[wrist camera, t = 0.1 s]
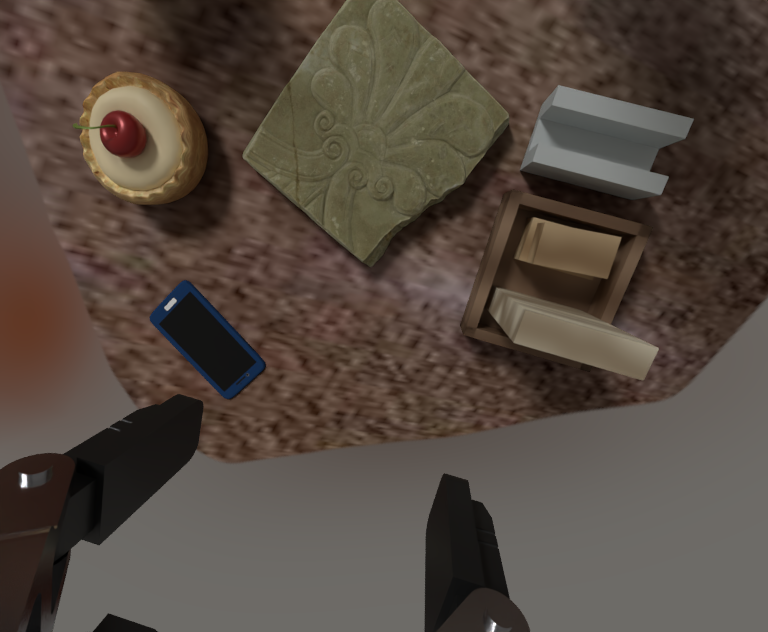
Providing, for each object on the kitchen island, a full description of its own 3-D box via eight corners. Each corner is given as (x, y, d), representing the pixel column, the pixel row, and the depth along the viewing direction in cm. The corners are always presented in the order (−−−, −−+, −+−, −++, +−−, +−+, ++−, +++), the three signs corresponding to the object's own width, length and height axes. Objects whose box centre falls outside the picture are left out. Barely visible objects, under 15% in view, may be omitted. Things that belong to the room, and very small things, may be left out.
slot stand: (542, 104, 34) (558, 85, 30) (659, 134, 34) (693, 118, 29) (519, 170, 36) (532, 161, 31) (632, 200, 35) (660, 195, 31)
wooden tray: (503, 194, 36) (512, 189, 32) (628, 228, 36) (653, 227, 32) (460, 325, 40) (463, 335, 36) (573, 358, 39) (589, 372, 35)
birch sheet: (493, 285, 37) (525, 310, 25) (580, 309, 37) (658, 348, 24) (485, 307, 38) (513, 342, 25) (571, 331, 37) (643, 380, 25)
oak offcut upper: (537, 223, 33) (545, 222, 31) (608, 237, 33) (621, 237, 31) (526, 262, 34) (533, 263, 32) (595, 276, 34) (607, 279, 32)
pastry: (224, 206, 41) (171, 202, 32) (125, 206, 42) (49, 201, 33) (213, 85, 38) (152, 45, 29) (107, 88, 39) (17, 49, 30)
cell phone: (188, 277, 43) (183, 277, 42) (270, 364, 44) (267, 366, 43) (150, 316, 44) (146, 318, 44) (230, 399, 46) (227, 402, 45)
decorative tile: (250, 161, 39) (232, 153, 36) (372, -12, 34) (366, -40, 31) (378, 279, 40) (373, 283, 37) (515, 127, 35) (524, 115, 32)
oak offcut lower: (527, 218, 36) (533, 217, 33) (598, 237, 35) (610, 237, 33) (513, 258, 37) (518, 259, 34) (582, 277, 36) (592, 280, 34)
